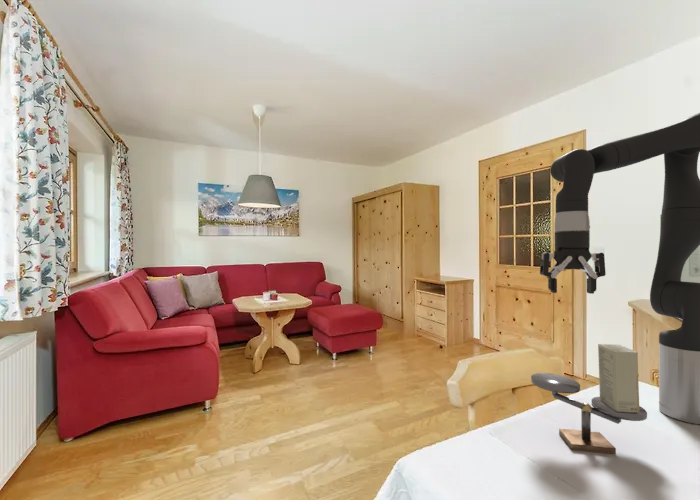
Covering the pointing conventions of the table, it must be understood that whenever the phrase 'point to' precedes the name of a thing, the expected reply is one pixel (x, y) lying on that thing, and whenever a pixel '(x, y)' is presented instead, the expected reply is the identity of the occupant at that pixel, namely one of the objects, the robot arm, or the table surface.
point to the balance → (584, 414)
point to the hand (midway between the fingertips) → (571, 292)
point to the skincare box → (618, 377)
